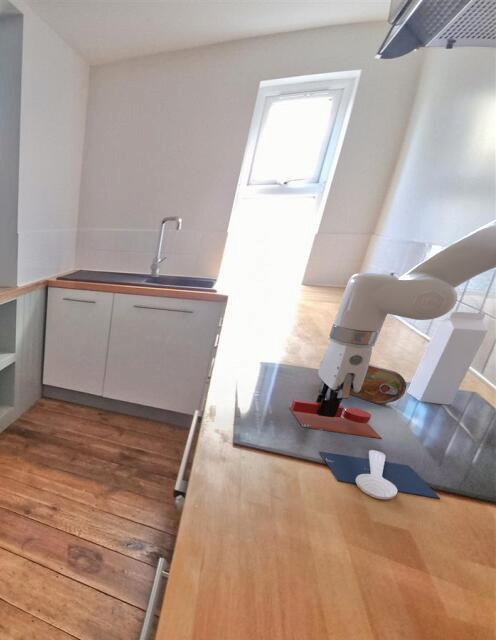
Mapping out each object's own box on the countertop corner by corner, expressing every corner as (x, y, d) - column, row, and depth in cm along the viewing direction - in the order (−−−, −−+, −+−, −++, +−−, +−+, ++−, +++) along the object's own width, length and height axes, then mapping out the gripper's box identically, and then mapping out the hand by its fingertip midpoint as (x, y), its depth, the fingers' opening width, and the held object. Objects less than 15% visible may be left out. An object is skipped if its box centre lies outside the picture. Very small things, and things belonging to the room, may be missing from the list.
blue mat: (408, 466, 77) (408, 465, 77) (439, 499, 69) (440, 498, 69) (318, 452, 82) (319, 451, 82) (338, 481, 73) (338, 480, 73)
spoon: (395, 457, 79) (396, 455, 79) (397, 504, 67) (398, 502, 67) (358, 447, 82) (359, 445, 82) (354, 490, 70) (355, 488, 70)
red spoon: (363, 415, 92) (367, 406, 91) (372, 424, 88) (376, 415, 87) (288, 405, 97) (291, 396, 96) (294, 413, 93) (297, 404, 92)
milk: (450, 405, 100) (496, 317, 91) (418, 401, 102) (460, 314, 93) (435, 395, 105) (477, 310, 96) (405, 391, 107) (444, 308, 98)
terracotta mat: (360, 417, 95) (361, 416, 95) (381, 438, 86) (381, 437, 86) (289, 407, 99) (289, 407, 99) (302, 427, 91) (302, 426, 91)
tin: (326, 385, 111) (337, 356, 108) (334, 384, 112) (345, 355, 109) (391, 409, 98) (405, 377, 95) (400, 408, 99) (414, 375, 96)
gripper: (394, 348, 77) (358, 433, 85) (359, 327, 91) (330, 401, 98) (346, 344, 80) (315, 427, 87) (318, 323, 93) (293, 397, 101)
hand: (323, 413), depth 93 cm, fingers closed on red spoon
